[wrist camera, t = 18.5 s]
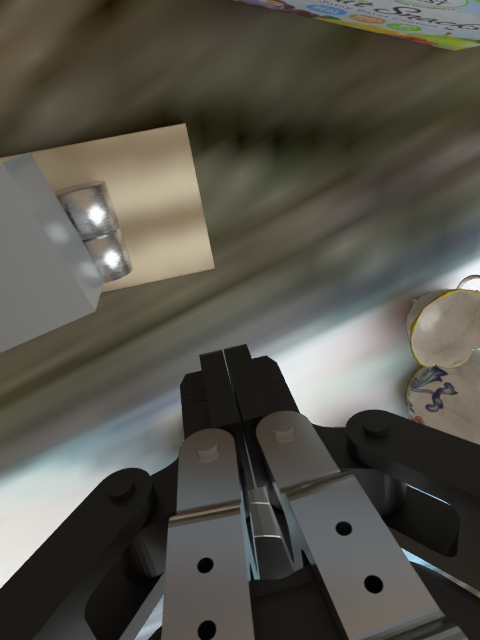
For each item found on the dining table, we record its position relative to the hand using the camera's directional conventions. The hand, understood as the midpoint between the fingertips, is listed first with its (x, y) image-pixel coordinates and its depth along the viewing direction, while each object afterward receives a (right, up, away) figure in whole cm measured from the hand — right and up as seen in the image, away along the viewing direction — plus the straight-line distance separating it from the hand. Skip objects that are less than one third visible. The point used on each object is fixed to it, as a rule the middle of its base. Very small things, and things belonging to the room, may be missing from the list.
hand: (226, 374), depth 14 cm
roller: (-10, +8, +19) cm, 23 cm away
